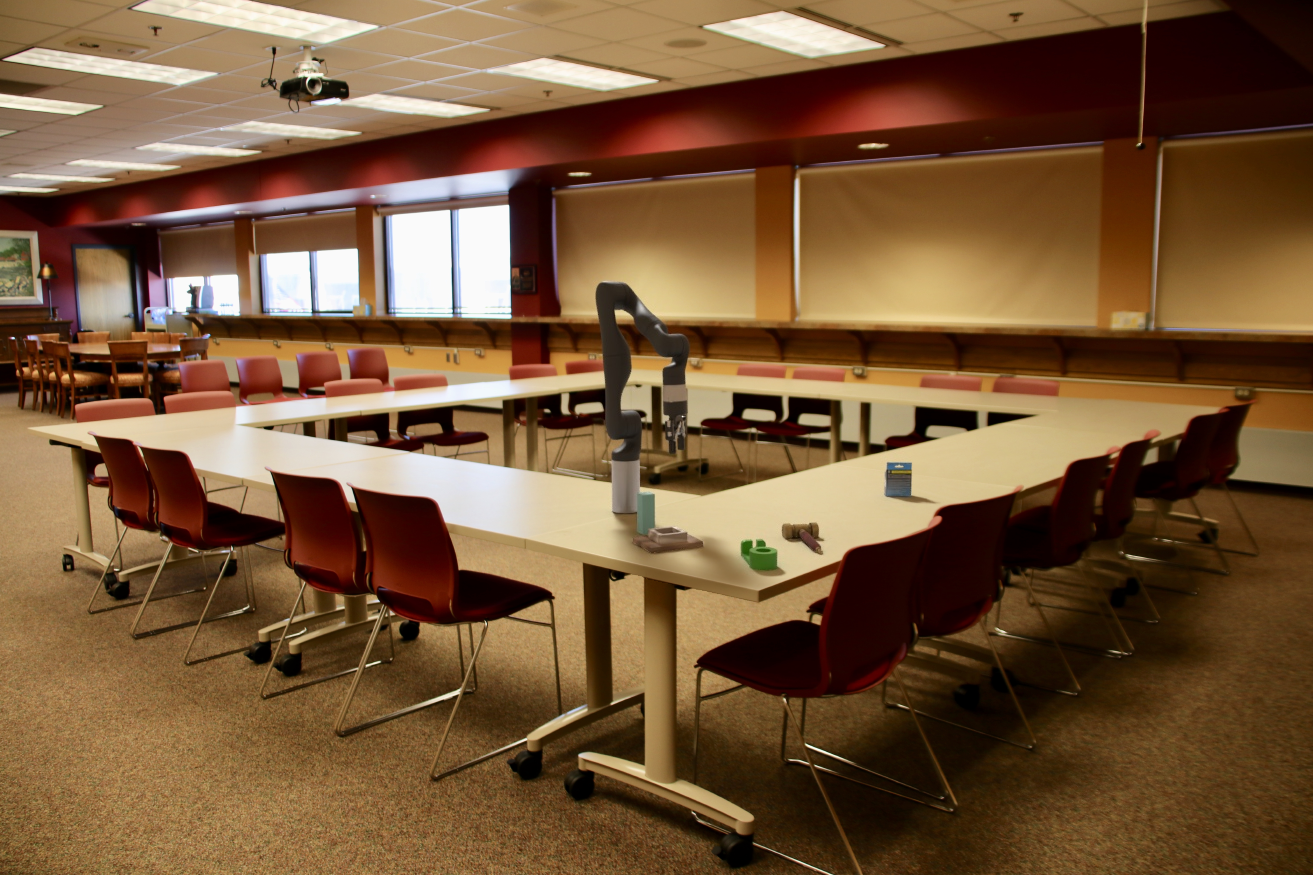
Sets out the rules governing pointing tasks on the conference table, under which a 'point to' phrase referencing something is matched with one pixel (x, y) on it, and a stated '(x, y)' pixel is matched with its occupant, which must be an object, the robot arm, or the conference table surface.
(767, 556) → the green slotted bracket
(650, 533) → the walnut socket plate
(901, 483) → the label tape cartridge
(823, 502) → the conference table surface
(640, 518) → the teal post
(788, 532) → the gavel
